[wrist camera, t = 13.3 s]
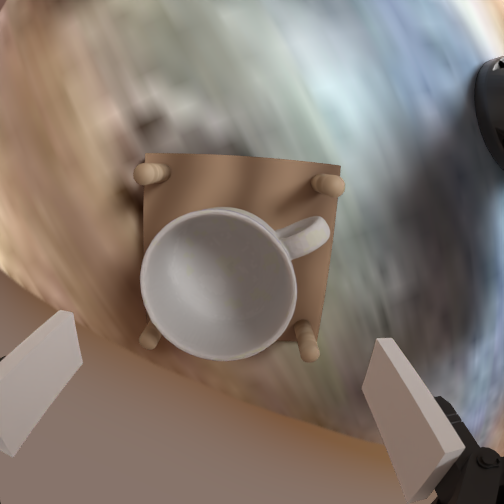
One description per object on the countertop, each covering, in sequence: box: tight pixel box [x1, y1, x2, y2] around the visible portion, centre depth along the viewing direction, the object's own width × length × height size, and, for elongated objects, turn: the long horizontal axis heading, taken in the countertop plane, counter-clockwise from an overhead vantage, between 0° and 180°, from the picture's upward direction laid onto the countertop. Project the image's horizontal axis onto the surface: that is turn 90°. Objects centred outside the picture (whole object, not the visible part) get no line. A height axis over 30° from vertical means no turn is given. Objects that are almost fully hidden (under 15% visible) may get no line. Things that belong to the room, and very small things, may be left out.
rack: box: [133, 153, 345, 362], centre depth 26 cm, size 17×17×6 cm
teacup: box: [140, 207, 330, 361], centre depth 24 cm, size 14×11×8 cm
